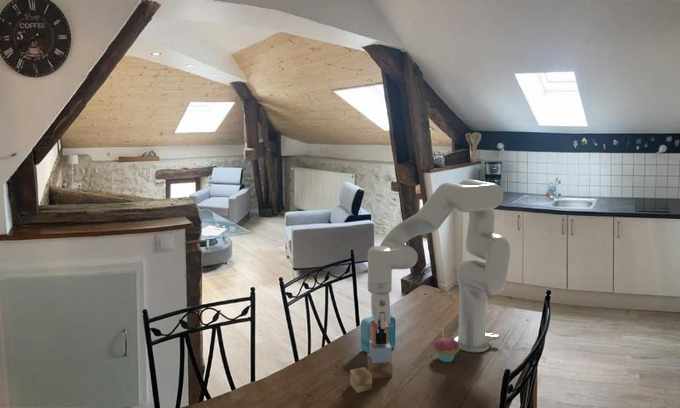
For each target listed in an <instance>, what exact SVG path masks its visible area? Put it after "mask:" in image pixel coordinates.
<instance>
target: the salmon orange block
mask: <svg viewBox="0 0 680 408" xmlns="http://www.w3.org/2000/svg"><path fill="white" fill-rule="evenodd" d="M385 321H386V320H385ZM378 322H380V321H378ZM379 327H380V325H379ZM376 332H377V324H376V323H375V322H374V321H371V341H372V344H373V345H387V344H388V333H389V327H388V324H387V322H386V344H376Z"/></svg>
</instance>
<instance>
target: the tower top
mask: <svg viewBox="0 0 680 408" xmlns="http://www.w3.org/2000/svg"><path fill="white" fill-rule="evenodd" d="M392 349H393V348H392V347H391V346H390V344H389V342H388V344H387V345H373V344H372V341H371V340H369V355H370V358H371V360H372V363H373V364H374V363H387V362H391V361H392Z"/></svg>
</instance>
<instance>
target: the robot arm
mask: <svg viewBox="0 0 680 408" xmlns="http://www.w3.org/2000/svg"><path fill="white" fill-rule="evenodd" d="M503 200H504V191H503V189H502V188H501V186H500V185H498V184H496V183H494V182H489V181H482V180H477V179H464V180H462V181H460V182H459V183H454V182H444V183H442V184H439V186H438V187H437V188H436V189H435V190H434V191H433V193H432V194H431V196H429V198H428V199H427V200H426V202H424V204H423V205H422V206H421V208H420V209H419V210H418V211H417V212H416V213H415V214H413V215H411V216H410V217H407V219H405V220H403V221H401V222H399V223H398V224H397V225H395V226H394V227H393V228H392V229H391V230H390V231H389V232H388V234H387V235H386V236H385V238H384V239H382V242H381V243H380V245H375V246H371V247H369V248H368V250H367V291H368V293H371V294H370V299H371V300H370V304H371V305H370V307H371V308H370V309H371V315H372V316H373V319H374V322H375V323H376V324H377V332H376V344H386V322H387V323H388V324H390V315H391V300H390V293H391V292H392V290H393V288H392V287H393V286H392V285H393V280H392V279H393V278H392V277H393V270H409V269H411V268H413V267H414V266H416V264H417V262H418V258H419V256H418V253H417V251H416V250H415V249H414V248H413V247H412V246H410V245H407V244H406V243H407V242H409V241H411V239H413V238H415V237H418V236H420V235H425V234H426V235H427V234H431V233H434V232H436V231H438V230H439V229H440V228H441V226H442V225H443V223H444V222H445V221H446V219H447V218H448V217H449V216H450V215H451V214H452V212H453V211H458V212H460V213H461V212H462V213H468V217H469V218H468V227H467V232H466V234H467V235H466V240H465V249H466V252H467V253H468V254H469V255H471V256H474V257H476V258H478V259H481V260H485V262H484V261H480V260H478V259H474V258H469V259H468V258H467V259H464V260H463V261H461V263H460V264H459V265H458V266H457V267H458V268H457V270H456V271H457V272H456V274H457V276H456V278H457V282H458V287H459V299H458V300H459V303H458V304H459V305H458V307H459V310H458V330H457V331H458V334H457V336H455V337H454V339H453V340H455V341H456V342H457V343H458V344H459V350H461V351H465V352H468V353H482V352H485V351H487V350H488V351H489V349H490V346H491V343H490V342H491V341H493V342H494V341H500V336H499V334H493V332H487V313H488V312H487V309H488V308H487V307H488V297H487V295H490V296H495V295H497V294H500V293H501V292H502V291H503V289H504V288H505V285H506V281H507V276H508V272H509V271H508V270H509V266H510V265H509V263H510V257H511V246H510V242H509V240H508V239H507V238H506V237H505V236H503V235H500V234H497V233H494V228H495V220H496V219H495V212H494V209H496V208H497V207H499V206H500V204H501V203H502V202H503ZM372 316H371V317H372ZM385 320H386V321H385ZM378 321H380V322H378ZM379 325H380V327H379Z"/></svg>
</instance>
